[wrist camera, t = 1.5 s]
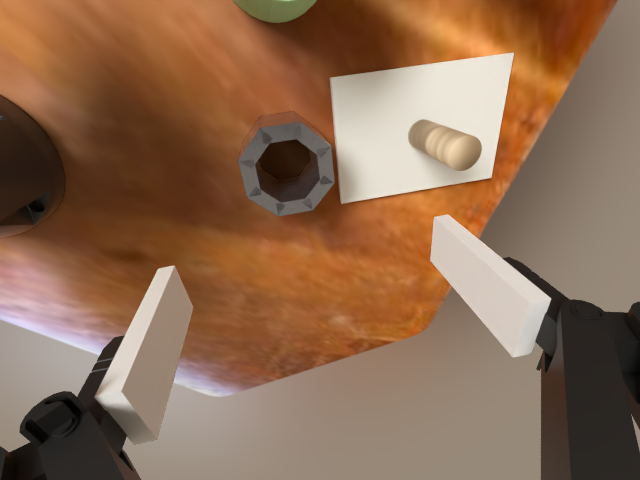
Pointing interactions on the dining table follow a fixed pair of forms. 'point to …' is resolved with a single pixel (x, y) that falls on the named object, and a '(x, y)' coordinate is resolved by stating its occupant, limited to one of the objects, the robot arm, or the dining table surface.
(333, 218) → the dining table surface
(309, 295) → the dining table surface
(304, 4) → the mug
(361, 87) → the base board
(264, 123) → the ring
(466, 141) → the post
